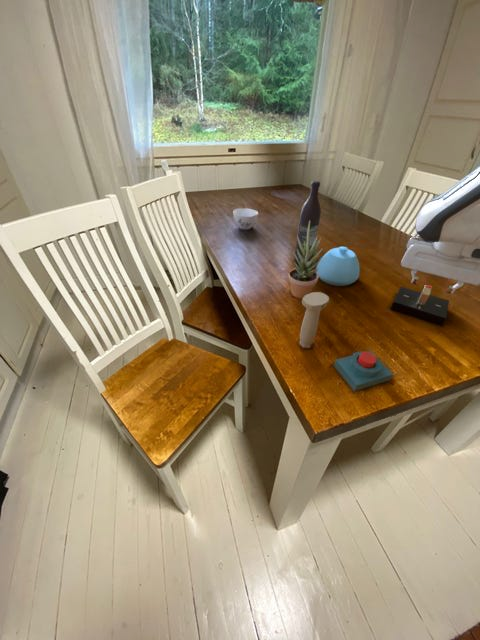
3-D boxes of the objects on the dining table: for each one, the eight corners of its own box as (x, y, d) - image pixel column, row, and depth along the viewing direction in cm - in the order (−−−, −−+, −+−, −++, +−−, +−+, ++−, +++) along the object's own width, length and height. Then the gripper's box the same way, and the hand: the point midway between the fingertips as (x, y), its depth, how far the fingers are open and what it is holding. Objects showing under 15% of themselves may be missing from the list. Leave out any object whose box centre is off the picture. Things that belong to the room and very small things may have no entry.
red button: (366, 355, 65) (369, 350, 64) (377, 366, 62) (379, 361, 61) (354, 359, 64) (356, 353, 63) (364, 370, 61) (366, 365, 60)
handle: (320, 345, 72) (333, 299, 63) (302, 355, 70) (313, 308, 60) (307, 335, 76) (318, 289, 66) (290, 344, 73) (298, 297, 63)
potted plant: (291, 283, 97) (302, 212, 82) (317, 290, 94) (334, 217, 78) (281, 297, 90) (291, 222, 75) (309, 305, 87) (325, 228, 71)
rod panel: (444, 308, 86) (449, 300, 84) (441, 326, 79) (446, 317, 77) (397, 293, 93) (400, 286, 91) (390, 309, 86) (393, 301, 84)
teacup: (253, 233, 133) (254, 217, 128) (229, 230, 136) (229, 214, 131) (261, 223, 145) (262, 207, 140) (239, 220, 148) (239, 205, 142)
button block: (367, 356, 70) (372, 345, 67) (390, 380, 64) (396, 368, 61) (333, 365, 67) (337, 354, 64) (354, 391, 61) (359, 380, 59)
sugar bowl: (330, 264, 109) (336, 235, 102) (364, 278, 100) (374, 248, 93) (307, 276, 101) (312, 246, 94) (342, 292, 93) (351, 262, 85)
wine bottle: (291, 265, 108) (302, 182, 89) (296, 257, 113) (308, 178, 94) (308, 268, 106) (324, 184, 87) (312, 261, 111) (328, 180, 92)
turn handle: (423, 306, 82) (429, 294, 79) (416, 304, 82) (423, 292, 80) (426, 297, 86) (432, 285, 83) (419, 295, 86) (425, 284, 84)
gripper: (408, 237, 75) (391, 281, 84) (501, 256, 66) (471, 303, 74) (412, 231, 79) (395, 273, 88) (500, 248, 70) (472, 293, 78)
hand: (430, 287), depth 81 cm, fingers open, 8 cm apart
